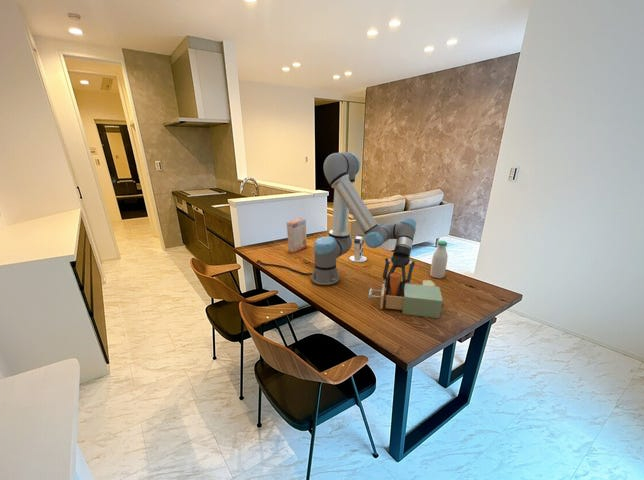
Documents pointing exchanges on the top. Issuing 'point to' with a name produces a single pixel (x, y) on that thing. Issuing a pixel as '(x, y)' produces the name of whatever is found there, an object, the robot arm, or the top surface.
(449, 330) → the top surface
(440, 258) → the milk bottle
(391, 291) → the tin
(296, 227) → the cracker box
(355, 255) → the white post on base
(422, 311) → the cabinet
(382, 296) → the drawer
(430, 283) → the stacked layers on plate
